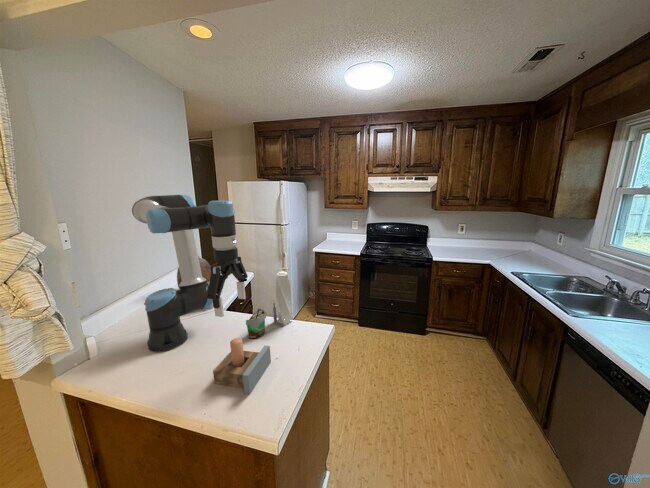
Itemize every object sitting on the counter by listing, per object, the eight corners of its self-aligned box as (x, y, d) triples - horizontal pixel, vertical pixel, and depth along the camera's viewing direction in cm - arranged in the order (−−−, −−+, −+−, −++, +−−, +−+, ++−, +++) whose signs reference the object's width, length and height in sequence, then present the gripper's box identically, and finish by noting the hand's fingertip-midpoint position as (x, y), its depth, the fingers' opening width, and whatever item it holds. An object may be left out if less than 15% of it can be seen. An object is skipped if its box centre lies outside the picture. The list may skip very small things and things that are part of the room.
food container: (260, 342, 113) (258, 321, 111) (247, 341, 114) (245, 320, 112) (271, 327, 125) (270, 308, 123) (259, 326, 126) (258, 307, 124)
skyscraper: (285, 316, 136) (282, 265, 130) (296, 321, 131) (293, 268, 125) (273, 323, 130) (268, 269, 124) (283, 328, 125) (280, 272, 119)
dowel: (231, 374, 90) (227, 343, 88) (237, 367, 94) (234, 337, 92) (241, 376, 89) (238, 345, 87) (247, 368, 93) (244, 338, 91)
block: (214, 383, 88) (212, 370, 87) (234, 361, 99) (232, 349, 98) (246, 388, 85) (245, 375, 84) (263, 364, 96) (262, 352, 95)
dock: (188, 387, 88) (185, 366, 86) (217, 357, 103) (215, 339, 102) (250, 397, 83) (248, 375, 81) (271, 364, 98) (269, 345, 96)
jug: (180, 289, 177) (174, 247, 171) (214, 284, 186) (209, 243, 180) (177, 303, 155) (170, 255, 149) (216, 296, 164) (210, 250, 158)
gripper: (210, 258, 73) (218, 326, 78) (254, 240, 97) (258, 293, 101) (188, 257, 75) (197, 323, 80) (236, 239, 98) (241, 291, 103)
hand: (231, 306), depth 91 cm, fingers open, 13 cm apart
